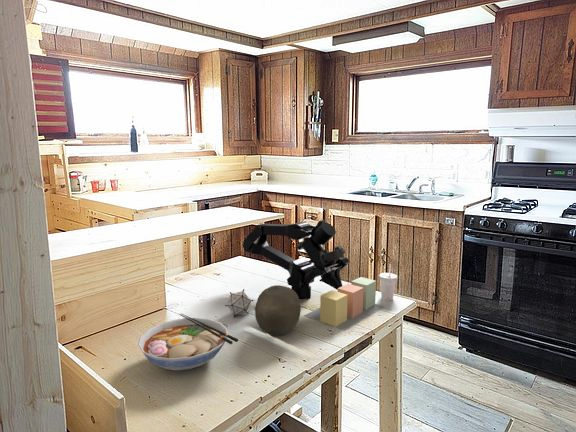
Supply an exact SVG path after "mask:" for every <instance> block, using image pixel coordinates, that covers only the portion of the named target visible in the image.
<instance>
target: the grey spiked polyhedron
mask: <svg viewBox="0 0 576 432" xmlns="http://www.w3.org/2000/svg"><path fill="white" fill-rule="evenodd" d="M244 291H245V289H244V288H243V289H242V291H239V292H234V293H233V292H232V291H229V294H230V296H229V299H228V301H227V304H225V305H224V307H227V308H228V309H229V310H230V311H231V313H232V314H233V318H236V316H237V315H238V316H239V315H241V314H242V315H243V314H245V313H246V314H247V315H249V308H250V305H251V304H252V302H254V299H251V298H250V297H249V296H248V295H247V294H246V293H245V292H244Z"/></svg>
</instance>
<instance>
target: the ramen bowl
mask: <svg viewBox="0 0 576 432" xmlns="http://www.w3.org/2000/svg"><path fill="white" fill-rule="evenodd" d="M179 315H180V316H182V317H183V318H177V319H172V320H169V321H164V322H161V323H159V324H157V325H154V326H152V327H150V328H149V329H147V330H146V331H145V332H144V333H143V334H142V335H140V337H139V339H138V343H137V346H138V347H139V348H140V350H141V353H142V354H143V355H144V356H145V358H147V360H148V361H149V362H150V363H152V364H154V365H156V366H158V367H160V368H162V369H165V370H171V371H184V370H191V369H194V368H198V367H200V366H203V365H205V364H206V363H208V362H210V361H211V360H213V359H214V358H215V357H216V356H217V355H218V354H219V352H220V351H221V349H222V347H223V346H224V345H225V343H228V344H229V345H233V343H234V342H236V343H237V342H239V338H238V337H235V336H233V335H231V334H228V332H229V331H228V328H227V327H226V326H225V325H223V323H222V322H220V321H216V320H213V319H211V318H210V319H209V318H202V317H201V318H200V317H190V316H188V315H186V314H183V313H179ZM233 341H234V342H233Z"/></svg>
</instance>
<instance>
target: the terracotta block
mask: <svg viewBox="0 0 576 432" xmlns="http://www.w3.org/2000/svg"><path fill="white" fill-rule="evenodd" d="M337 292H340V293H343V294H347V295H348V297H347V316H348V317H351V318H354V317H355V316H357V315H359V314H361V313H362V312H363V287H359V286H355V285H352V284H351V283H347V284H344V285H342V287H339V288H338V290H337Z"/></svg>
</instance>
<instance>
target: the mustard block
mask: <svg viewBox="0 0 576 432" xmlns="http://www.w3.org/2000/svg"><path fill="white" fill-rule="evenodd" d="M319 297H320V299H319V301H320V304H319V305H320V307H319V308H320V321H322V322H324V323H323V324H325V323H327V324H330V325H333V326H335V327H334V328H336V326H338V325H340V324H341V323H343V322H345V321H347V297H348V295H347V294H343V293H340V292H338V291H337V290H333V289H331V290H329V291H327V292H325V293H323V294H320V296H319ZM322 322H321V323H322ZM327 324H326V325H327ZM330 325H329V326H330ZM333 326H332V327H333Z"/></svg>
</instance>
